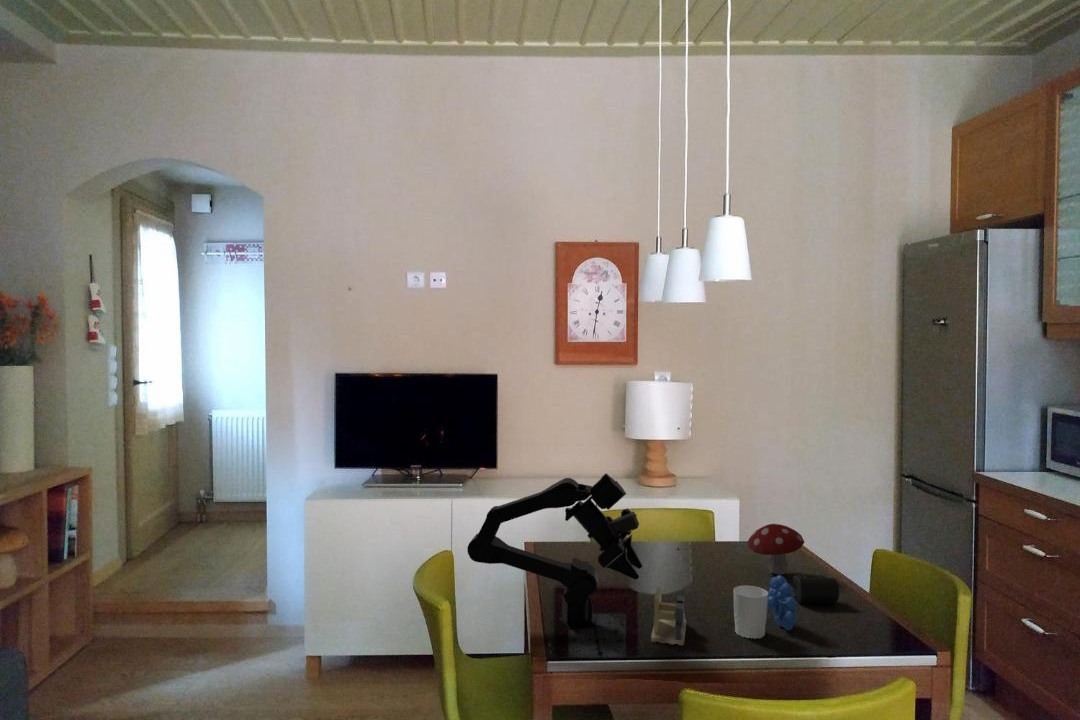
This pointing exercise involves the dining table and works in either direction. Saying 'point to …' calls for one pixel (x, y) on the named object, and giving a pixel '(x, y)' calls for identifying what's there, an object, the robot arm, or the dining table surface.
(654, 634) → the birch board
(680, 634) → the grey two-prong bracket
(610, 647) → the dining table surface
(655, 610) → the tan notched block
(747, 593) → the white cup
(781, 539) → the decorative mushroom
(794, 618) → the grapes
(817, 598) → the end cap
